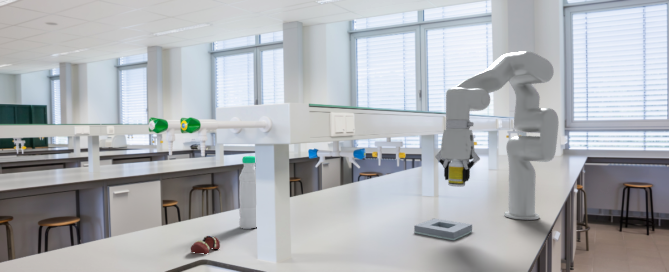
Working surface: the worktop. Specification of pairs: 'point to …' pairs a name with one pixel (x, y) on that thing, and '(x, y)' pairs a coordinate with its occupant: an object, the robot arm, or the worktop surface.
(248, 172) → the water bottle
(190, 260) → the worktop surface
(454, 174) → the supplement bottle
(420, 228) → the holder block
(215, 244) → the dental model
